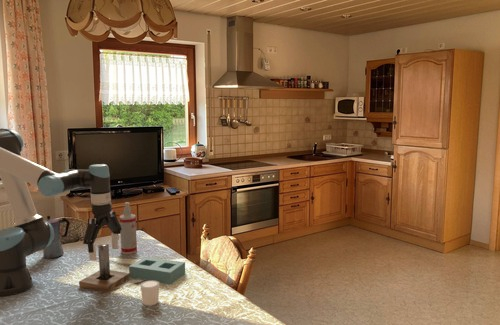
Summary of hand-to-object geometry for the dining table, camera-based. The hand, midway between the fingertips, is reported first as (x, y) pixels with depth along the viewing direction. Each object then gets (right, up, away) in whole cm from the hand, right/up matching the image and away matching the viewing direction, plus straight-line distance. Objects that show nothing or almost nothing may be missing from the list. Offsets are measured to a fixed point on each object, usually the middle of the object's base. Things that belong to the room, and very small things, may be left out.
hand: (104, 254), depth 171 cm
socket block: (0, -12, +2) cm, 12 cm away
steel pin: (0, -12, +2) cm, 12 cm away
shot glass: (+22, -15, -15) cm, 30 cm away
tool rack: (+20, -11, +9) cm, 24 cm away
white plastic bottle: (-1, -7, +39) cm, 40 cm away
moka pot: (-36, -8, +34) cm, 50 cm away
